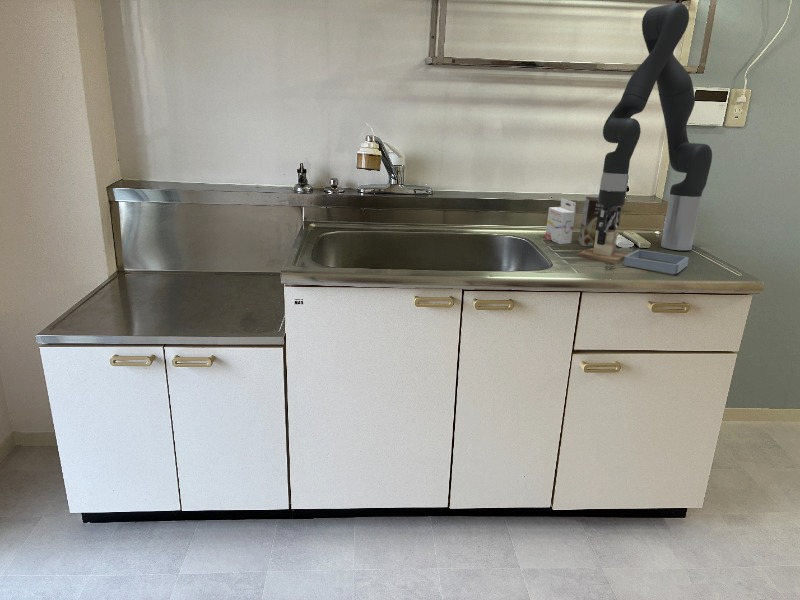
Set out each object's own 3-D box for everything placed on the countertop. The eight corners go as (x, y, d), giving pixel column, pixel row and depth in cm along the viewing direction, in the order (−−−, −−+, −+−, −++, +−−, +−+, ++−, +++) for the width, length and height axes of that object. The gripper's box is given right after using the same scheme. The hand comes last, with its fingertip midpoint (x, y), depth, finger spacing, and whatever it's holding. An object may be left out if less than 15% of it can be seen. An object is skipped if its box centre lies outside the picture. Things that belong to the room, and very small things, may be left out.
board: (590, 251, 183) (591, 247, 183) (629, 257, 177) (629, 253, 176) (577, 257, 174) (577, 253, 174) (616, 263, 167) (617, 259, 167)
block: (598, 251, 178) (601, 228, 176) (614, 253, 176) (618, 230, 174) (593, 253, 175) (596, 230, 172) (609, 256, 172) (613, 232, 170)
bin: (636, 257, 177) (638, 249, 177) (687, 265, 169) (689, 257, 168) (622, 265, 166) (623, 256, 165) (676, 274, 158) (678, 265, 157)
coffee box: (581, 248, 187) (588, 199, 181) (577, 244, 193) (584, 196, 187) (610, 250, 186) (618, 201, 181) (605, 245, 192) (613, 197, 187)
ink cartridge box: (543, 241, 196) (549, 198, 190) (555, 240, 197) (561, 197, 192) (558, 247, 188) (565, 203, 183) (571, 246, 190) (577, 202, 185)
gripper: (608, 186, 177) (600, 237, 182) (592, 189, 166) (584, 244, 171) (633, 188, 173) (625, 241, 177) (618, 191, 162) (610, 247, 166)
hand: (605, 242), depth 174 cm, fingers open, 8 cm apart
